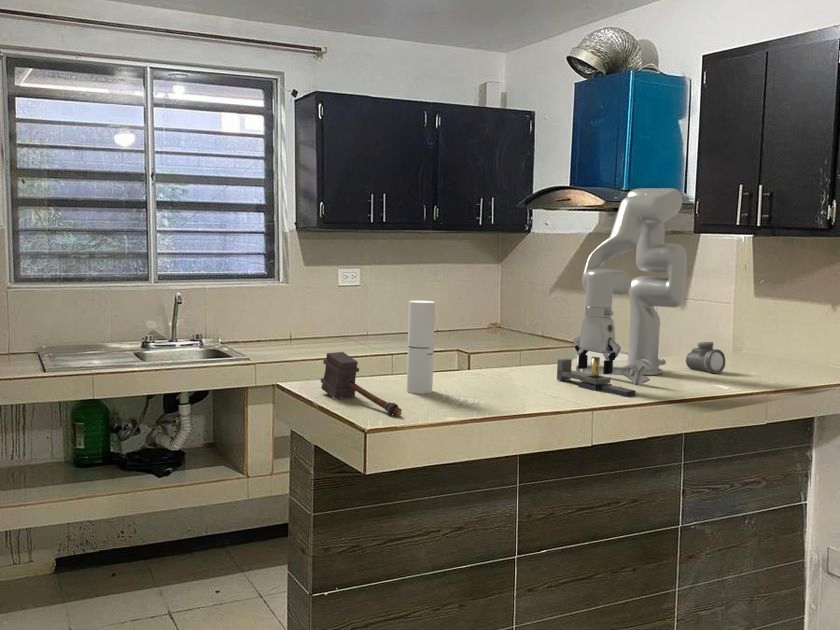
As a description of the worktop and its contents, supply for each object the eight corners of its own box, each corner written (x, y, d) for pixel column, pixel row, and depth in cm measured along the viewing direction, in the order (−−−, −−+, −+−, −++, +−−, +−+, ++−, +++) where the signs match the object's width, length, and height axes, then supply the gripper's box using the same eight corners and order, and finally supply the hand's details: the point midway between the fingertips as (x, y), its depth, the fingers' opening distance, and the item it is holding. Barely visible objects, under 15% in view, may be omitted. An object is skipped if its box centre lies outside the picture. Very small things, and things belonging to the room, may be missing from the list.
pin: (593, 386, 237) (595, 356, 236) (600, 387, 235) (601, 357, 234) (588, 387, 236) (589, 357, 235) (594, 388, 234) (596, 358, 233)
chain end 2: (593, 384, 240) (594, 380, 240) (638, 394, 227) (638, 390, 226) (577, 386, 236) (578, 382, 236) (622, 397, 223) (622, 392, 222)
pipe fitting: (728, 371, 267) (725, 341, 267) (711, 375, 264) (708, 344, 263) (699, 370, 278) (697, 340, 277) (683, 373, 274) (680, 343, 274)
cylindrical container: (402, 389, 225) (405, 300, 222) (426, 388, 228) (428, 300, 225) (412, 394, 218) (415, 303, 216) (436, 393, 221) (439, 302, 218)
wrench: (579, 380, 262) (654, 386, 238) (575, 381, 261) (650, 386, 237) (578, 356, 262) (653, 359, 238) (575, 357, 261) (649, 359, 237)
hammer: (340, 385, 220) (345, 351, 217) (408, 435, 195) (413, 396, 192) (319, 388, 216) (323, 352, 213) (384, 438, 191) (390, 399, 188)
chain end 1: (568, 378, 248) (569, 358, 247) (610, 387, 235) (611, 366, 234) (554, 379, 244) (555, 359, 244) (595, 389, 231) (596, 368, 230)
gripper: (630, 315, 228) (626, 375, 230) (584, 309, 242) (581, 365, 244) (612, 316, 224) (609, 377, 226) (567, 310, 238) (564, 367, 240)
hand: (594, 371), depth 235 cm, fingers open, 9 cm apart
